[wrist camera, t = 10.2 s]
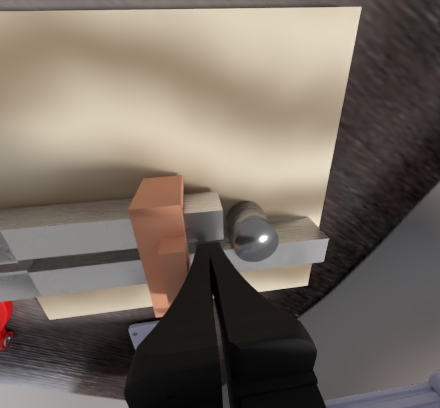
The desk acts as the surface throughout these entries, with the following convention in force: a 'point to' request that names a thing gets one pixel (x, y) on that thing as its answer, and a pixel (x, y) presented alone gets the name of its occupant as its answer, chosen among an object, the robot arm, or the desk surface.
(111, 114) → the board
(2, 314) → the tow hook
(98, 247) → the bar
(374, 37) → the desk surface
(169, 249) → the collar
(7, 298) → the tong base
